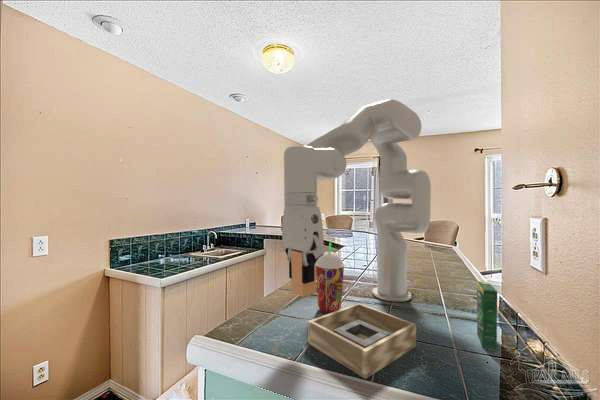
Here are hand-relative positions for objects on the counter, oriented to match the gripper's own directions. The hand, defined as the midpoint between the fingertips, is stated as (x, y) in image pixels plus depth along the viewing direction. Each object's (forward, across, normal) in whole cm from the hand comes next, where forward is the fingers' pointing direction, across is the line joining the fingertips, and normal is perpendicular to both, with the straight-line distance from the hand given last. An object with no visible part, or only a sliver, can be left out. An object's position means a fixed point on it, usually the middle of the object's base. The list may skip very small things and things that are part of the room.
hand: (301, 279), depth 64 cm
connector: (+3, 0, -1) cm, 3 cm away
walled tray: (+14, -10, -9) cm, 20 cm away
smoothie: (+15, +8, -17) cm, 24 cm away
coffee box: (+15, -27, -33) cm, 45 cm away
